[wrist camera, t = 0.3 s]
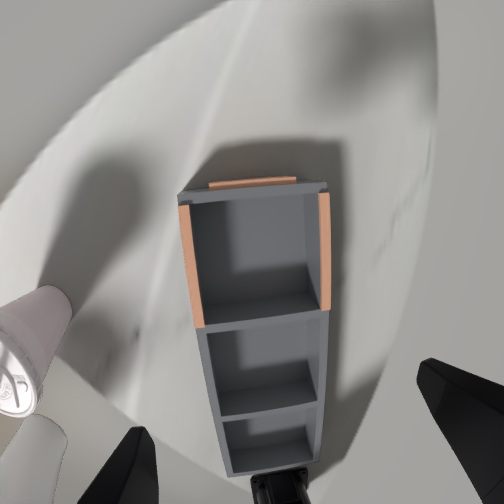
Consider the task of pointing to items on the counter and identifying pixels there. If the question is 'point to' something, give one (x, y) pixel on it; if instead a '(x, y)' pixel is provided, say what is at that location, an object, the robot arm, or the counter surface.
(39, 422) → the drinking glass
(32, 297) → the smoothie
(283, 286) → the bottle caddy
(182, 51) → the counter surface
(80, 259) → the counter surface
